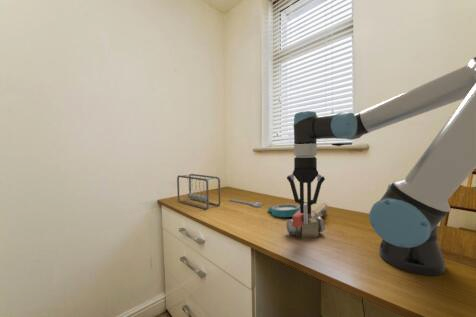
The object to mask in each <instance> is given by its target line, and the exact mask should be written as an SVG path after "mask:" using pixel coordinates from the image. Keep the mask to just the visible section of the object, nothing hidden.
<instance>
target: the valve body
mask: <svg viewBox="0 0 476 317" xmlns="http://www.w3.org/2000/svg"><path fill="white" fill-rule="evenodd" d="M285 226H286V230H287V233H288V234H289V235H290V236H296V235H297V236H298V237H299V238H300V239H302V240H305V239H312V238H319V233H323V232H324V231H325V228H326V227H325V226H326V225H325V221H324V219H323V218H322V217H320V216H317V217H314V218H310V219H308V224H305V223H304V224H303V225H302V226H301V228H299V227H294V226H292V218H289V219H287V221H286V225H285Z"/></svg>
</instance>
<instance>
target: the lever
mask: <svg viewBox="0 0 476 317" xmlns="http://www.w3.org/2000/svg"><path fill="white" fill-rule="evenodd" d="M310 218H311V214H308V219H310ZM291 219H292V226H294V227H299V228H301V226H302V225H303V224H304V213H301V212H300V210H299V211H298V212H296V213H295V214H294V215H293V216H292V218H291Z"/></svg>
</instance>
